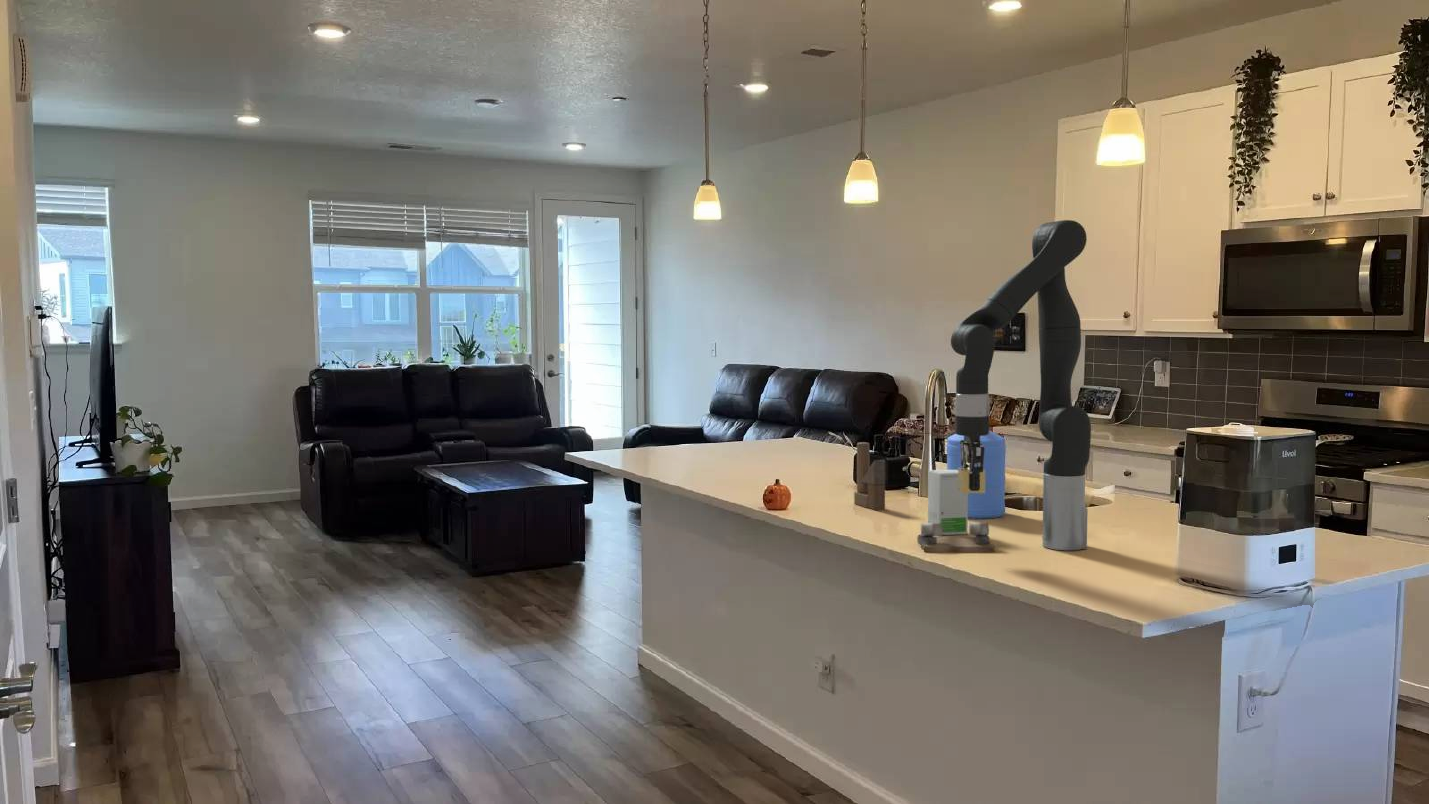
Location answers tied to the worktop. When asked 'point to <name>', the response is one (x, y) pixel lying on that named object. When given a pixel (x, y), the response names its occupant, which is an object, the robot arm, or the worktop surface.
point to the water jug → (994, 467)
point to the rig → (955, 539)
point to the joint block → (964, 481)
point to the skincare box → (947, 502)
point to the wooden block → (869, 479)
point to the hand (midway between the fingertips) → (971, 488)
